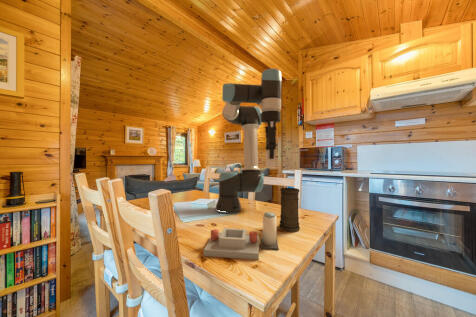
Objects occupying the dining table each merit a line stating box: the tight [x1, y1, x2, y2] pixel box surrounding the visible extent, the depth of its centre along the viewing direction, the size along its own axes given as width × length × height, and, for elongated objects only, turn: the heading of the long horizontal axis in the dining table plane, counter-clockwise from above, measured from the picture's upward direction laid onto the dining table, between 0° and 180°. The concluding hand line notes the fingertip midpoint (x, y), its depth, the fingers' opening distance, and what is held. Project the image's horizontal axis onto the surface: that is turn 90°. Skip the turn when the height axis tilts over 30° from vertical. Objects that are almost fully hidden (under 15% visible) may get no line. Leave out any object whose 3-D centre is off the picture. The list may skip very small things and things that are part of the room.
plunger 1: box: [210, 229, 220, 240], centre depth 69 cm, size 3×3×3 cm
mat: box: [260, 236, 280, 251], centre depth 71 cm, size 8×6×1 cm
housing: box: [203, 227, 260, 260], centre depth 68 cm, size 14×18×5 cm
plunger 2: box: [248, 231, 258, 243], centre depth 67 cm, size 3×3×3 cm
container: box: [279, 187, 301, 233], centre depth 86 cm, size 9×9×18 cm
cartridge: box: [262, 211, 278, 246], centre depth 71 cm, size 5×5×11 cm
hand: (270, 167), depth 73 cm, fingers open, 13 cm apart
